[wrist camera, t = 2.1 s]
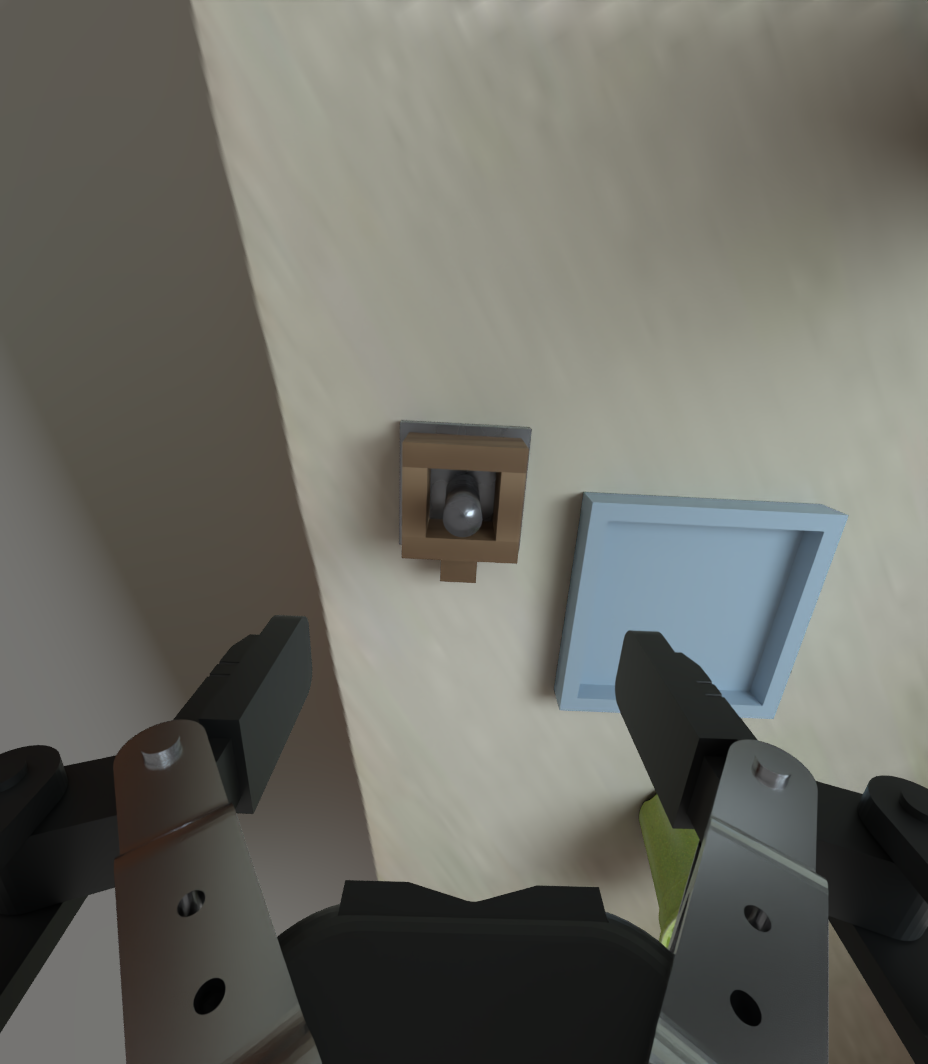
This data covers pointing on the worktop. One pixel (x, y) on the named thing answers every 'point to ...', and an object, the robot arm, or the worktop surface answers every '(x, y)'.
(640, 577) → the tray
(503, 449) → the brown hollow rectangular frame
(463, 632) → the worktop surface
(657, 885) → the plant pot
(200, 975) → the robot arm
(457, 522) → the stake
